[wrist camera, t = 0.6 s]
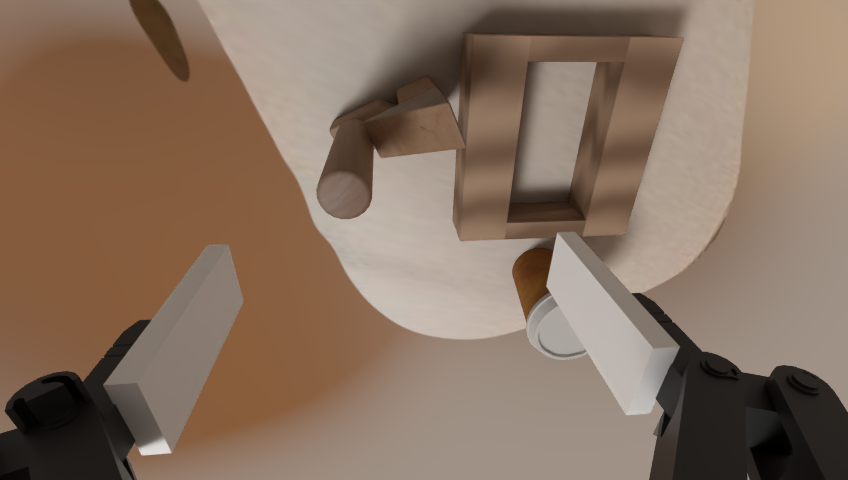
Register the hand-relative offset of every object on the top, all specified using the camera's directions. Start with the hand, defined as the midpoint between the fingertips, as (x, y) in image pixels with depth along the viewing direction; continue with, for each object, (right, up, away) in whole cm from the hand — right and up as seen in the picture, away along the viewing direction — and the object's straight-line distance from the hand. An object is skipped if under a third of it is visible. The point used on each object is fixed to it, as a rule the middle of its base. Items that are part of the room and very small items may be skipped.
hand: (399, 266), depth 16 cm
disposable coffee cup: (+16, -3, +36) cm, 40 cm away
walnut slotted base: (+14, +12, +27) cm, 33 cm away
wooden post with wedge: (-3, +14, +25) cm, 29 cm away
